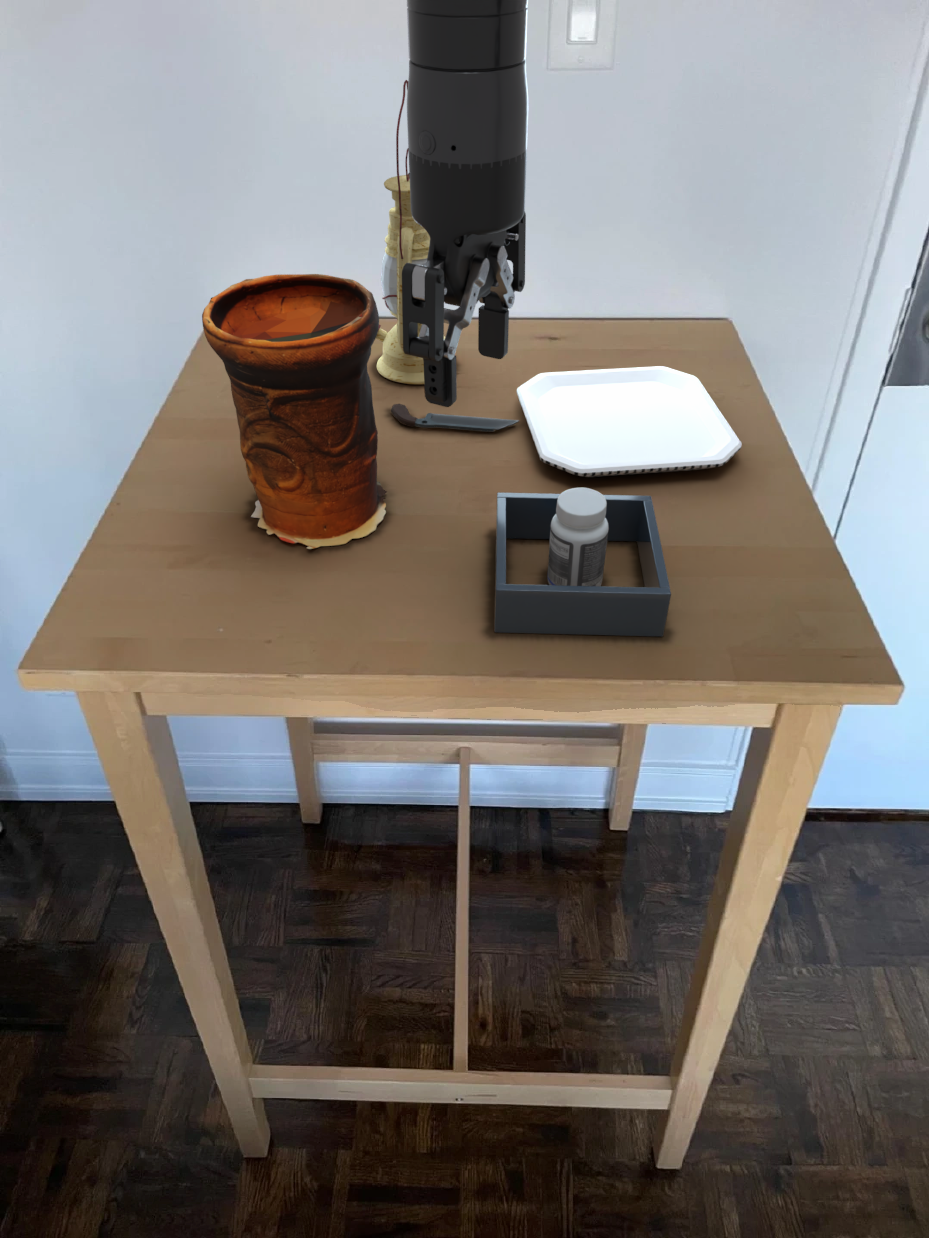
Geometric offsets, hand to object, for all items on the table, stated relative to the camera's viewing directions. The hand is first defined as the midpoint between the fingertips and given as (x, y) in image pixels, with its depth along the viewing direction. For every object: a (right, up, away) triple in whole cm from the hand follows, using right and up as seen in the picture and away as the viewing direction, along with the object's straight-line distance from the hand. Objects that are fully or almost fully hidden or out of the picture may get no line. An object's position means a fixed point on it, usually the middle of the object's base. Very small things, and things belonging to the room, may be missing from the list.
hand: (468, 378), depth 70 cm
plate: (+16, +2, +30) cm, 34 cm away
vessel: (-14, -8, +19) cm, 25 cm away
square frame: (+9, -15, +11) cm, 21 cm away
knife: (-1, +3, +31) cm, 32 cm away
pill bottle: (+9, -15, +11) cm, 21 cm away
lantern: (-6, +12, +41) cm, 44 cm away
